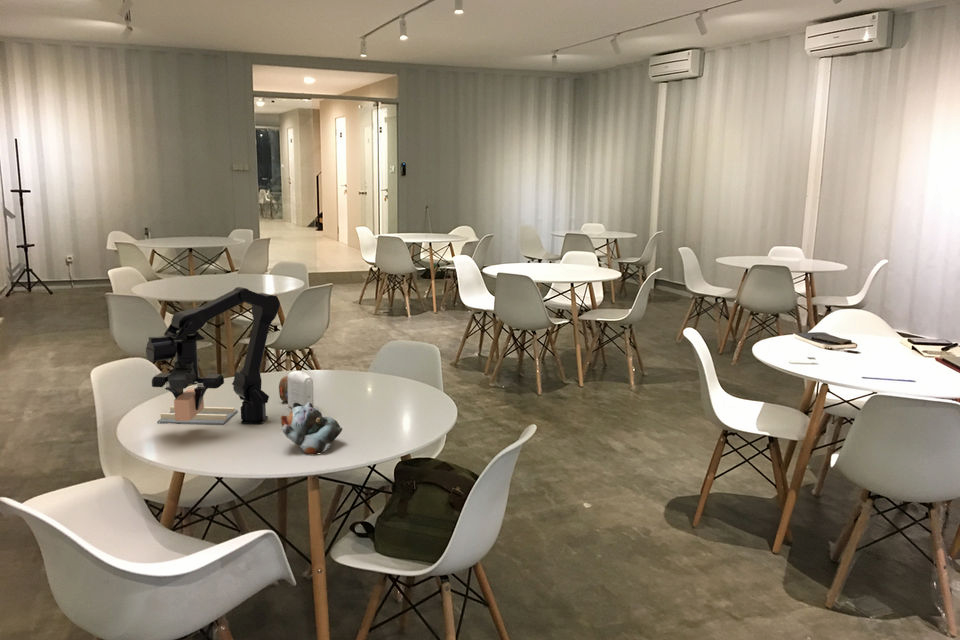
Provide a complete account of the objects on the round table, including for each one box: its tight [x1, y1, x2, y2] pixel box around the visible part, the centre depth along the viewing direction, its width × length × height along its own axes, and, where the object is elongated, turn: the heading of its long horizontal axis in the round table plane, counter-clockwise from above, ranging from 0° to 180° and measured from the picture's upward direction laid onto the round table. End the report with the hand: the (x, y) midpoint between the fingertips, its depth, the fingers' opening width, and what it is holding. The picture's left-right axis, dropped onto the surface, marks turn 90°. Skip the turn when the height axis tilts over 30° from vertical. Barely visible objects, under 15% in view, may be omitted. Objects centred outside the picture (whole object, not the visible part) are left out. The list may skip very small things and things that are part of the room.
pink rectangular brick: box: [173, 387, 205, 421], centre depth 218 cm, size 4×12×6 cm, turn 1°
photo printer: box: [287, 370, 314, 409], centre depth 245 cm, size 10×4×12 cm, turn 47°
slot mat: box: [157, 405, 239, 426], centre depth 236 cm, size 20×13×2 cm, turn 89°
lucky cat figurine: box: [280, 402, 343, 455], centre depth 211 cm, size 15×12×14 cm
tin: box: [278, 373, 289, 402], centre depth 257 cm, size 15×3×8 cm, turn 168°
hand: (189, 409), depth 219 cm, fingers closed on pink rectangular brick, 4 cm apart
